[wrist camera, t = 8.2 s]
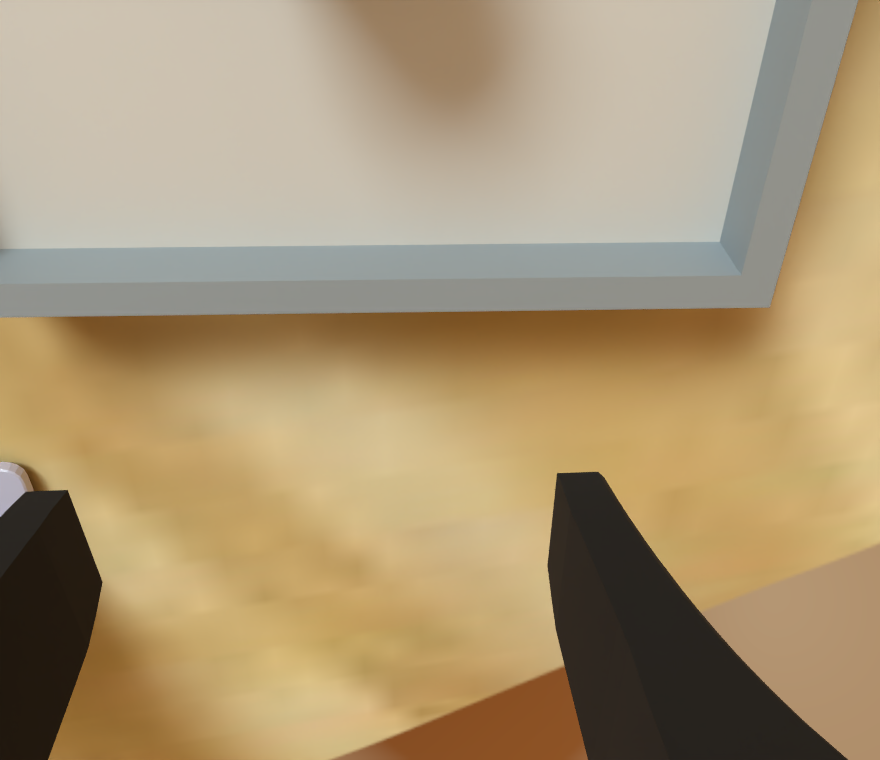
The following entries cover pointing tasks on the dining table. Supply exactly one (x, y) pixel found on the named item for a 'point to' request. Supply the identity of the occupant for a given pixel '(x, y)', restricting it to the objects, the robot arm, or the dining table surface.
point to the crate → (405, 153)
